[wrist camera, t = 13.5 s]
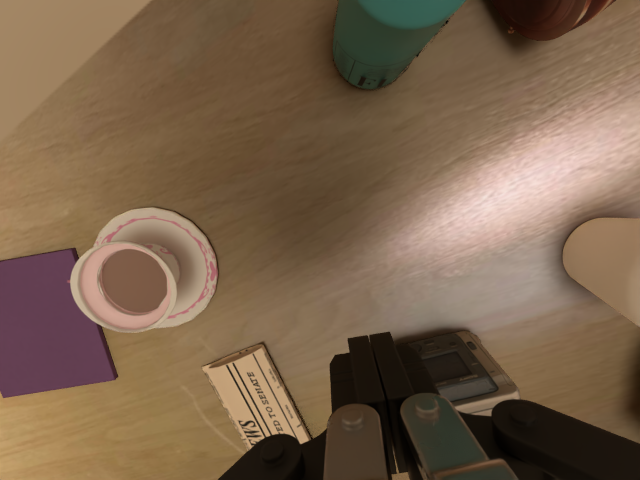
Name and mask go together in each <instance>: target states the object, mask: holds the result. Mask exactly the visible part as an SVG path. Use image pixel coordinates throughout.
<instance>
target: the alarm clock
mask: <svg viewBox="0 0 640 480" xmlns="http://www.w3.org/2000/svg"><path fill="white" fill-rule="evenodd" d="M615 1H616V0H492V2H493V4H494V6H495V8H496V9H497V11H498V12H499V14H500V15H501V17H502V18H503V19H504V20H505V22H506V23H507V24H509V25H510V28H509V29H508V32H509V33H510V34H511V33H513V32H514V30H515V31H517V32H518V33H520V34H521V35H523V36H525V37H527V38H530V39H533V40H537V41H548V40H552V39H555V38H557V37H560V36H562V35H563V34H565V33H567V32H569V31H571V30H573V29H575V28H577V27H579V26H580V25H582V24H584V23H586V22H587V21H589V20H591V19H592V18H594V17H595V16H597V15H598V14H599V13H600V12H602V11H603V10H604V9H606V8H607V7H608V6H609V5H611V4H612V3H613V2H615Z"/></svg>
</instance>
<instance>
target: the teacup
mask: <svg viewBox="0 0 640 480" xmlns="http://www.w3.org/2000/svg"><path fill="white" fill-rule="evenodd" d="M217 278H218V267H217V261H216V255H215V253H214V251H213V249H212V247H211V245H210V243H209V241H208V239H207V237H206V236H205V235H204V234H203V233H202V232H201V231H200V230H199V229H198V227H197V226H196V225H195V224H194V223H193V222H192V221H190V220H188V219H186V218H184V217H183V216H181V215H179V214H177V213H175V212H174V211H169V210H164V209H160V208H155V207H149V208H138V209H132V210H129V211H127V212H125V213H123V214H120V215H118V216H116V217H114V218H113V219H112V220H111V221H110V222H109V223H108V224H107V225H106V226H105V227H104V228H103V229H102V230H101V231H100V233H99V235H98V237H97V239H96V241H95V243H94V246H93V248H91V249H90V250H88V251H87V252H85V253H84V254H83V255H82V256H81V257H80V258H79V260H78V261H77V262H76V264H75V266H74V268H73V270H72V273H71V279H70V280H68V281H67V282H68V283H70V286H71V292H72V295H73V298H74V300H75V302H76V304H77V305H78V307H79V308H80V309H81V311H82V312H83V313H84V314H85V315H86V316H87V317H88V318H90V319H91V320H92V321H94V322H96V323H97V324H99V325H101V326H103V327H105V328H108V329H110V330H114V331H118V332H125V333H136V332H142V331H146V330H149V329H152V328H165V327H176V326H178V325H180V324H183V323H185V322H188V321H190V320H192V319H194V318H195V317H196V316H197V315H198V314H199V313H200V312H202V311H203V310H204V309H205V308H206V307H207V305H208V303H209V302H210V300H211V298H212V296H213V294H214V293H215V290H216V284H217Z"/></svg>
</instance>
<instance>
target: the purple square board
mask: <svg viewBox="0 0 640 480" xmlns="http://www.w3.org/2000/svg"><path fill="white" fill-rule="evenodd" d="M78 260H79V259H78V256H77V253H76V250H75V248H71V249H65V250H60V251H54V252H48V253H43V254H37V255H31V256H25V257H20V258H14V259H8V260H3V261H0V391H1V394H2V396H3V398H6V397H12V396H19V395H25V394H31V393H37V392H44V391H50V390H56V389H62V388H68V387H75V386H81V385H87V384H93V383H100V382H106V381H112V380H115V379H116V378H117V377H118V376H117V373H116V370H115V367H114V364H113V361H112V358H111V355H110V352H109V349H108V346H107V343H106V340H105V337H104V334H103V331H102V328H101V325H99V324H97V323H96V322H94V321H92V320H91V319H90V318H88V317H87V316H86V315H85V314H84V313H83V312H82V311H81V309H80V308H79V307H78V305H77V304H76V302H75V300H74V298H73V295H72V292H71V286H70V283H68V282H67V281H68V280H70V279H71V273H72V270H73V268H74V266H75V264H76V262H77V261H78Z"/></svg>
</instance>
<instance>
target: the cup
mask: <svg viewBox="0 0 640 480" xmlns="http://www.w3.org/2000/svg"><path fill="white" fill-rule="evenodd" d="M563 264H564V267H565V270H566V271H567V273H568V274H569V276H570V277H571V278H573V279H574V280H575V281H577V282H578V283H579V284H581V285H582V286H583V287H585V288H586V289H588V290H589V291H590V292H592V293H593V294H594V295H596V296H597V297H599V298H600V299H601V300H603V301H604V302H605V303H607V304H608V305H609V306H611V307H612V308H614V309H615V310H616V311H618V312H619V313H620V314H622V315H623V316H625V317H626V318H627V319H629V320H630V321H631V322H633V323H634V324H636V325H637V326H638V327H640V218H596V219H592V220H589V221H587V222H585V223H583V224H581V225H580V226H579V227H577V228H576V229H575V230H574V231H573V232H572V233H571V235H570V236H569V238H568V239H567V241H566V243H565V246H564V249H563Z"/></svg>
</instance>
